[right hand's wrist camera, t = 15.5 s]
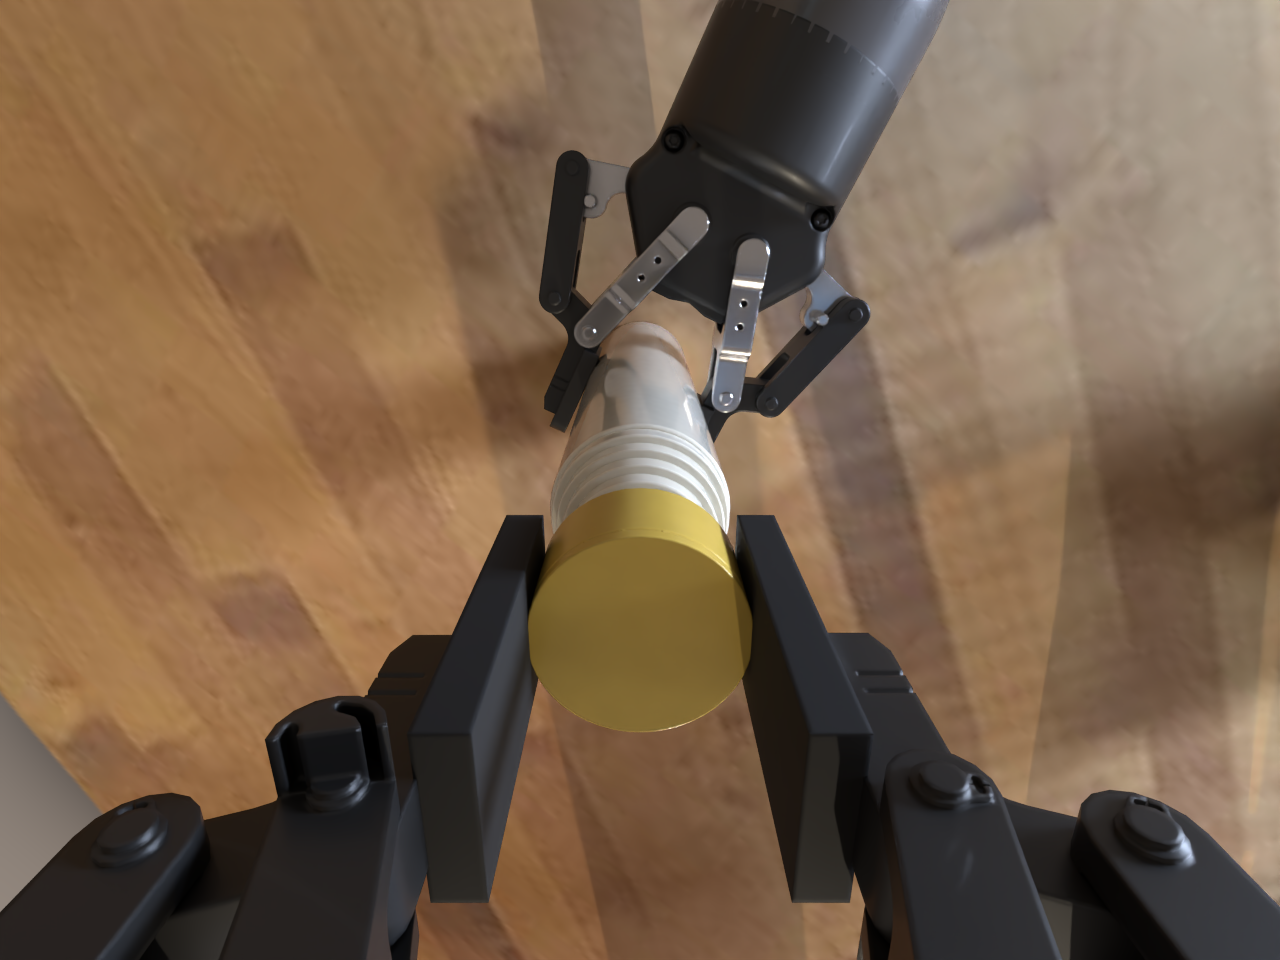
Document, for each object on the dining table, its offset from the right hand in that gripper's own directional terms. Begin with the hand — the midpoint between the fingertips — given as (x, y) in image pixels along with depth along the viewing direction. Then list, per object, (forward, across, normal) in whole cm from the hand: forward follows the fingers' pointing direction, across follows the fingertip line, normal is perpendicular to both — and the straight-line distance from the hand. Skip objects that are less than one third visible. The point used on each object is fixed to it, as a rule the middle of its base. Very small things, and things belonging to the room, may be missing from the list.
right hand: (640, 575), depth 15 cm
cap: (-2, 0, 0) cm, 2 cm away
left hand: (+16, -1, -2) cm, 17 cm away
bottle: (+23, 0, 0) cm, 23 cm away
